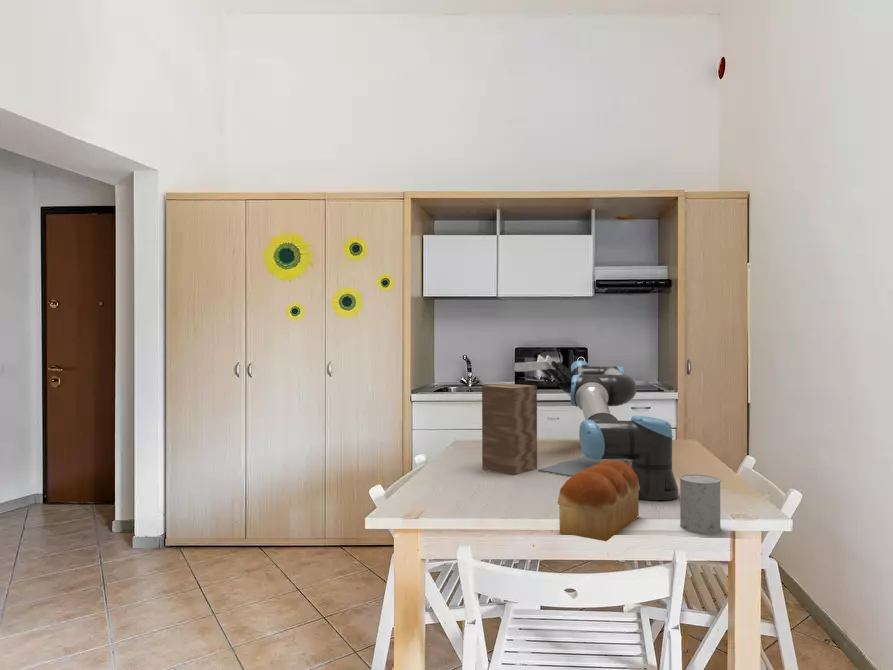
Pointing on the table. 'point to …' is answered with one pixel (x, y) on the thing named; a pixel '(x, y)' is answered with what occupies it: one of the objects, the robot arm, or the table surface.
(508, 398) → the walnut pedestal
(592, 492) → the bread
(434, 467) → the table surface
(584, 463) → the rubber mat
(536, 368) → the steel bar
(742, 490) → the table surface
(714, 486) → the concrete cylinder
